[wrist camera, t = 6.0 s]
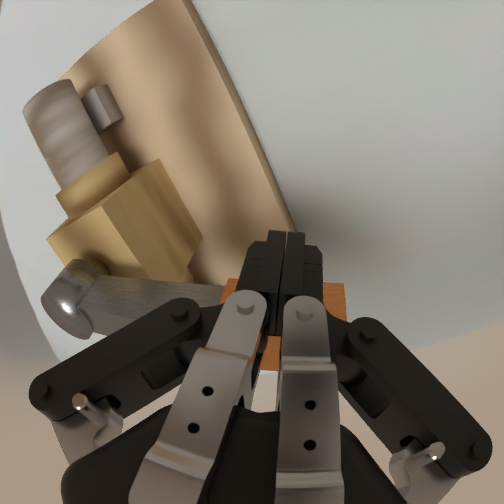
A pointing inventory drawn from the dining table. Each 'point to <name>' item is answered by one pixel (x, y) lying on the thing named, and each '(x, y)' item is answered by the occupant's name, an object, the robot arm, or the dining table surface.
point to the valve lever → (143, 302)
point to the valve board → (156, 155)
